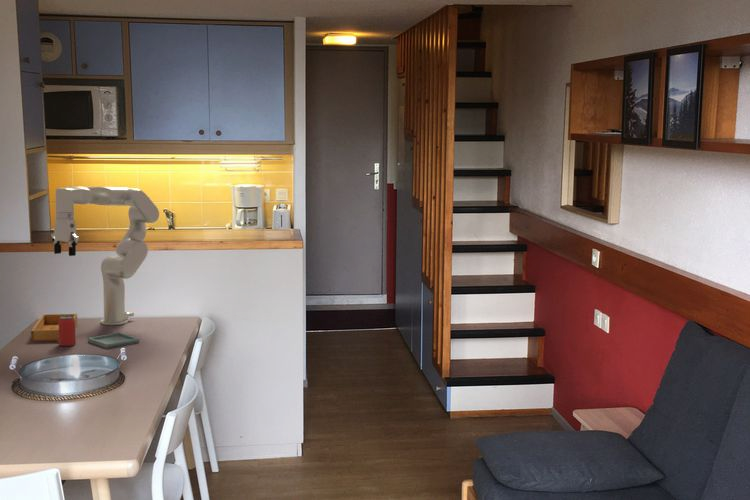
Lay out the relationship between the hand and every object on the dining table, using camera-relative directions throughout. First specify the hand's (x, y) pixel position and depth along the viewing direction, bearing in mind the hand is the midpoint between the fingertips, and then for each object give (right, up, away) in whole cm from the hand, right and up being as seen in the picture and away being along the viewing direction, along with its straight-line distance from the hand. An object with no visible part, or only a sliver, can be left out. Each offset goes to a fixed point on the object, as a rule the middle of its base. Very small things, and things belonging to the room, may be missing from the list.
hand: (64, 254), depth 362 cm
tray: (-6, -36, +4) cm, 36 cm away
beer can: (+7, -38, -16) cm, 42 cm away
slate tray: (+25, -38, -10) cm, 46 cm away
